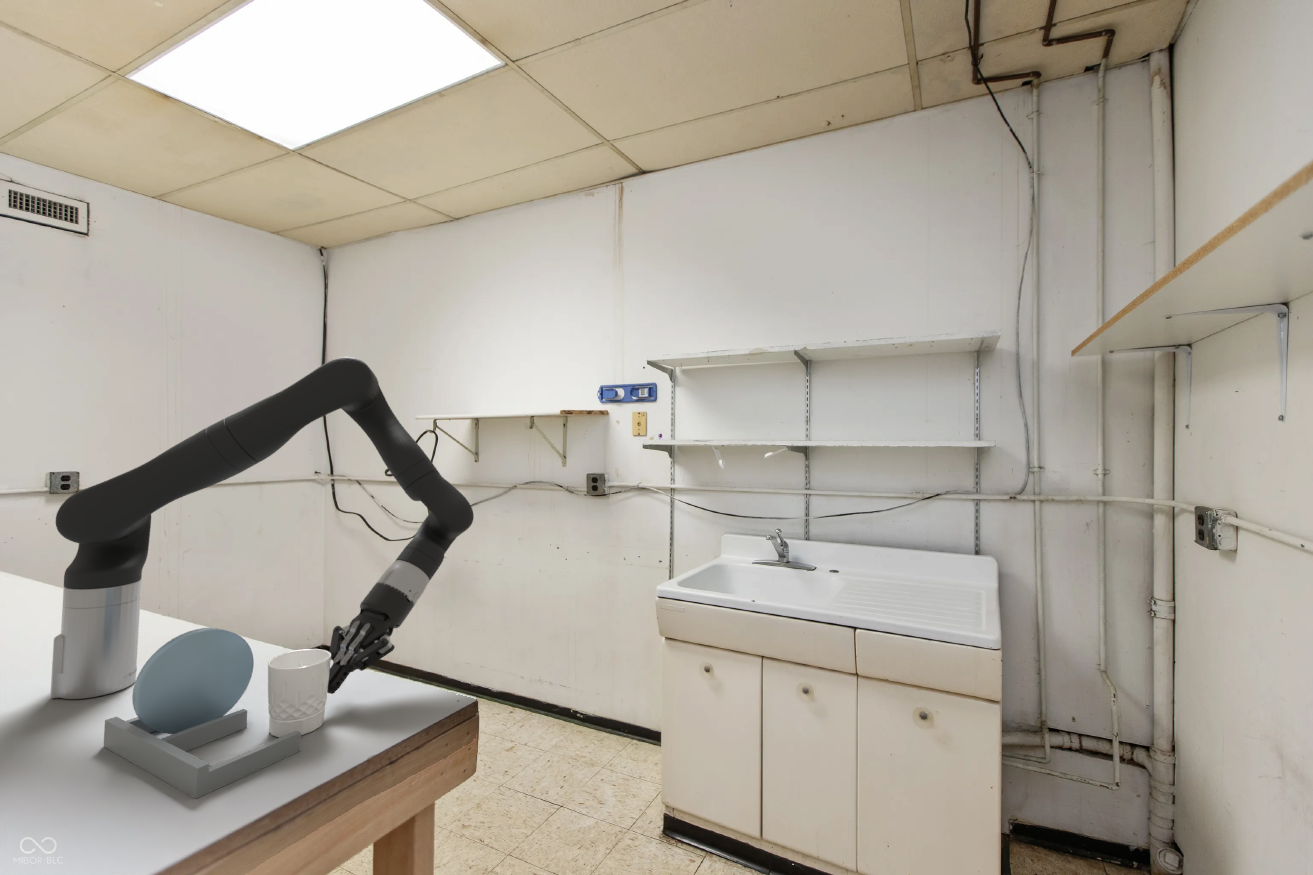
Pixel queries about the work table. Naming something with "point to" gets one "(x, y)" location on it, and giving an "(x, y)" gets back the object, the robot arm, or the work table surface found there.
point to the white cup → (297, 691)
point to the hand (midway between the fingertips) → (325, 690)
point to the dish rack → (193, 712)
